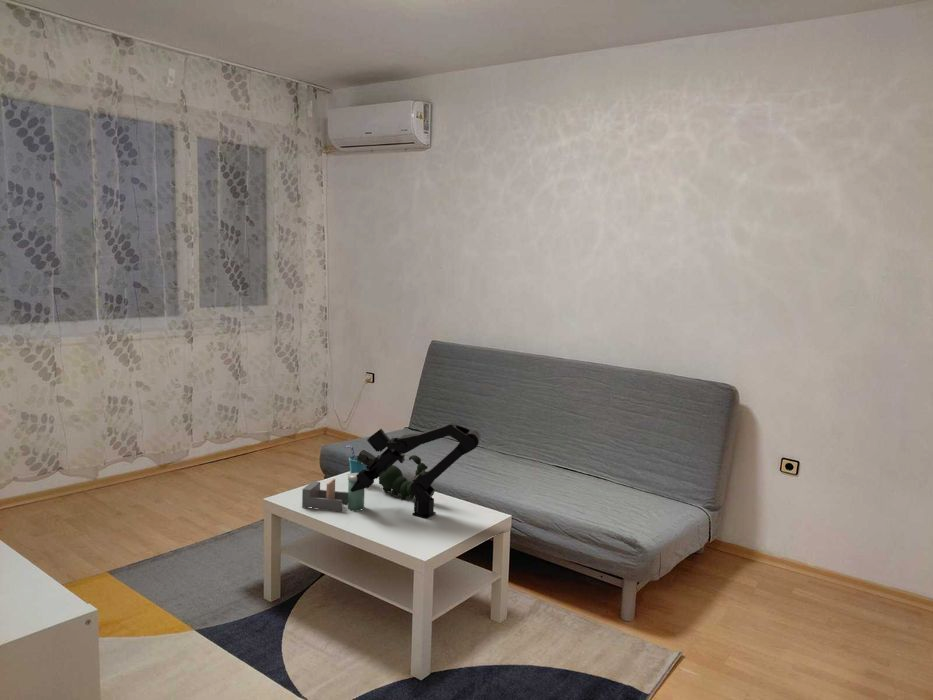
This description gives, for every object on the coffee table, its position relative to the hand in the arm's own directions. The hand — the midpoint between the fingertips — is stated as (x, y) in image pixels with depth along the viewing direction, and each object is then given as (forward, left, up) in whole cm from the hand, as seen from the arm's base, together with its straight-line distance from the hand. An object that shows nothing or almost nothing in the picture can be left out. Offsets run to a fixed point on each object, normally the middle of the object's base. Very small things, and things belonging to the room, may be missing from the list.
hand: (355, 487), depth 251 cm
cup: (+19, -24, -8) cm, 32 cm away
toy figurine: (-5, -22, -8) cm, 24 cm away
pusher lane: (+10, +4, -8) cm, 14 cm away
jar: (0, 0, -8) cm, 8 cm away
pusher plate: (+8, +3, -8) cm, 12 cm away
